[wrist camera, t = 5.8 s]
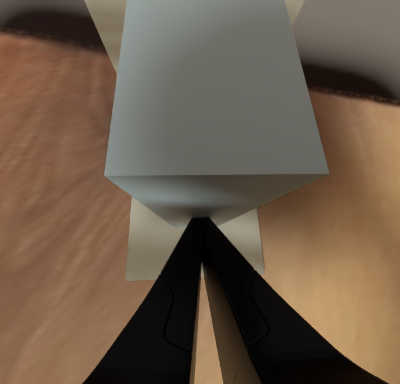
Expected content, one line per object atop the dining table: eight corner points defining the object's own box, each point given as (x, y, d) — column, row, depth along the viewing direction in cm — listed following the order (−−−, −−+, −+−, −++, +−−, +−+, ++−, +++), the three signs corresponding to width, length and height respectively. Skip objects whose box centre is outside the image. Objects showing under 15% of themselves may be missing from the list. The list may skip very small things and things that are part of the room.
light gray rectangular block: (225, 226, 14) (373, 173, 3) (174, 228, 14) (104, 175, 2) (220, 162, 16) (300, -42, 4) (175, 162, 16) (133, -55, 4)
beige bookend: (262, 273, 14) (420, 347, 4) (127, 279, 13) (-35, 385, 4) (242, 113, 18) (301, -26, 9) (140, 111, 18) (80, -42, 8)
